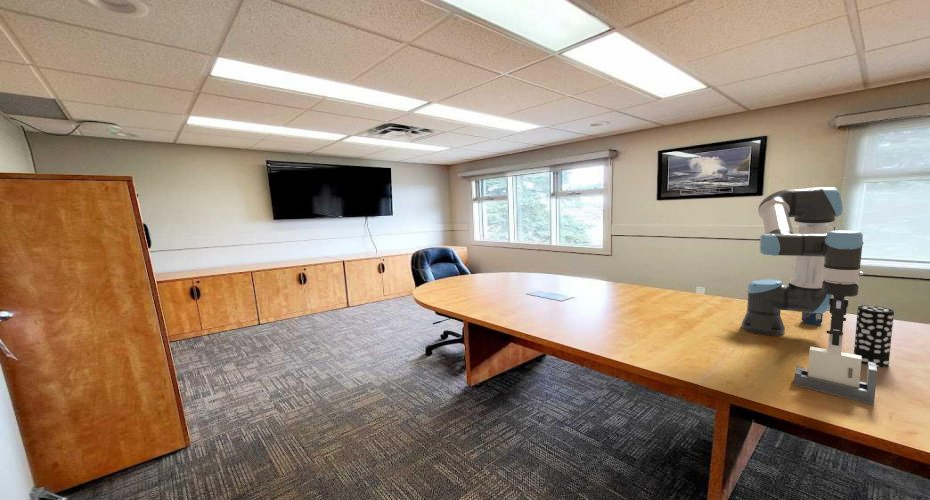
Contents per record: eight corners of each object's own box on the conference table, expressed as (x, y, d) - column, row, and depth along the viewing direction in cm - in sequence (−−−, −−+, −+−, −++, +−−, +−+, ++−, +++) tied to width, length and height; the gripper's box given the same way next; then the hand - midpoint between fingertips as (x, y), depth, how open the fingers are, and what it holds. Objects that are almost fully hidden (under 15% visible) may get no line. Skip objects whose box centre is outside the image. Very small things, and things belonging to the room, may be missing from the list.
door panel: (807, 384, 111) (809, 349, 110) (807, 380, 114) (810, 346, 112) (858, 397, 103) (861, 359, 102) (858, 392, 106) (861, 355, 104)
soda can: (797, 320, 167) (798, 297, 165) (813, 320, 166) (815, 296, 164) (809, 325, 160) (811, 301, 158) (826, 325, 159) (828, 300, 157)
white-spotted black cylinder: (893, 369, 119) (899, 313, 116) (858, 364, 123) (863, 310, 121) (881, 359, 126) (886, 306, 123) (849, 355, 130) (853, 304, 128)
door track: (793, 385, 113) (795, 354, 111) (795, 377, 117) (797, 348, 116) (873, 405, 100) (877, 371, 99) (872, 395, 105) (875, 362, 103)
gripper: (860, 292, 93) (853, 365, 96) (858, 274, 110) (852, 337, 113) (820, 288, 99) (815, 357, 102) (824, 272, 115) (819, 332, 118)
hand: (834, 347), depth 107 cm, fingers open, 13 cm apart
